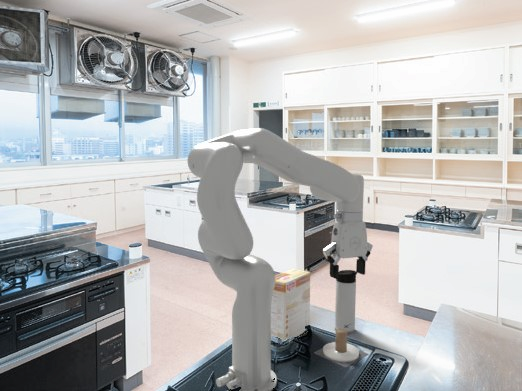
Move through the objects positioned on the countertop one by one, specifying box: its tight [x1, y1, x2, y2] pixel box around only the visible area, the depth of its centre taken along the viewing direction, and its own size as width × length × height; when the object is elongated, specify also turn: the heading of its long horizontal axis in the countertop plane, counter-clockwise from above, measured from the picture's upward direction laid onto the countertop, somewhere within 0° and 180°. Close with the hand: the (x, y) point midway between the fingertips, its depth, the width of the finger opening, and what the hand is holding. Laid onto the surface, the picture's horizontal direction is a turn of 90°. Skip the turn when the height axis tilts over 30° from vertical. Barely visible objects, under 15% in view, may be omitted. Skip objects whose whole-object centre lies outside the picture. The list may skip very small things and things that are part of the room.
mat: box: [313, 347, 369, 368], centre depth 114 cm, size 11×11×1 cm
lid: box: [322, 329, 360, 362], centre depth 113 cm, size 10×10×6 cm
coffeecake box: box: [271, 268, 311, 340], centre depth 125 cm, size 15×7×20 cm, turn 142°
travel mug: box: [334, 269, 358, 335], centre depth 128 cm, size 6×7×20 cm
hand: (347, 275), depth 117 cm, fingers open, 9 cm apart
